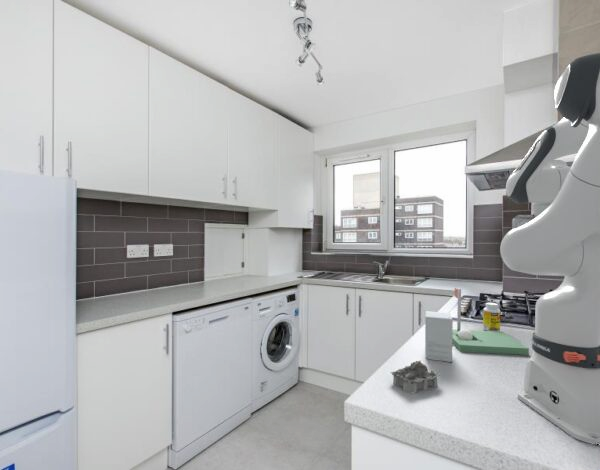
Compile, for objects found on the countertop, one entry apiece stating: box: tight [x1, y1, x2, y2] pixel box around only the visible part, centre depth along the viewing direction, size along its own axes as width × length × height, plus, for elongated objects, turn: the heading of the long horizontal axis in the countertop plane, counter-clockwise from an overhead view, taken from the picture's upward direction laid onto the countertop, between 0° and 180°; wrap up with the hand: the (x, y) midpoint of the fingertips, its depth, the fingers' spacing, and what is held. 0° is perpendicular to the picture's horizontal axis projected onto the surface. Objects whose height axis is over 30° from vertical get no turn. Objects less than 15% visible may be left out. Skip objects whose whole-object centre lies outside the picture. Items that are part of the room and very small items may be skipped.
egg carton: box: [390, 360, 441, 394], centre depth 78 cm, size 11×8×4 cm
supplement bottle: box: [482, 302, 501, 332], centre depth 120 cm, size 6×6×10 cm
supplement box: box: [424, 310, 454, 363], centre depth 95 cm, size 7×7×13 cm
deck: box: [452, 287, 530, 356], centre depth 107 cm, size 19×20×17 cm
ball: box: [458, 328, 473, 340], centre depth 107 cm, size 4×4×4 cm
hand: (547, 259), depth 98 cm, fingers closed
